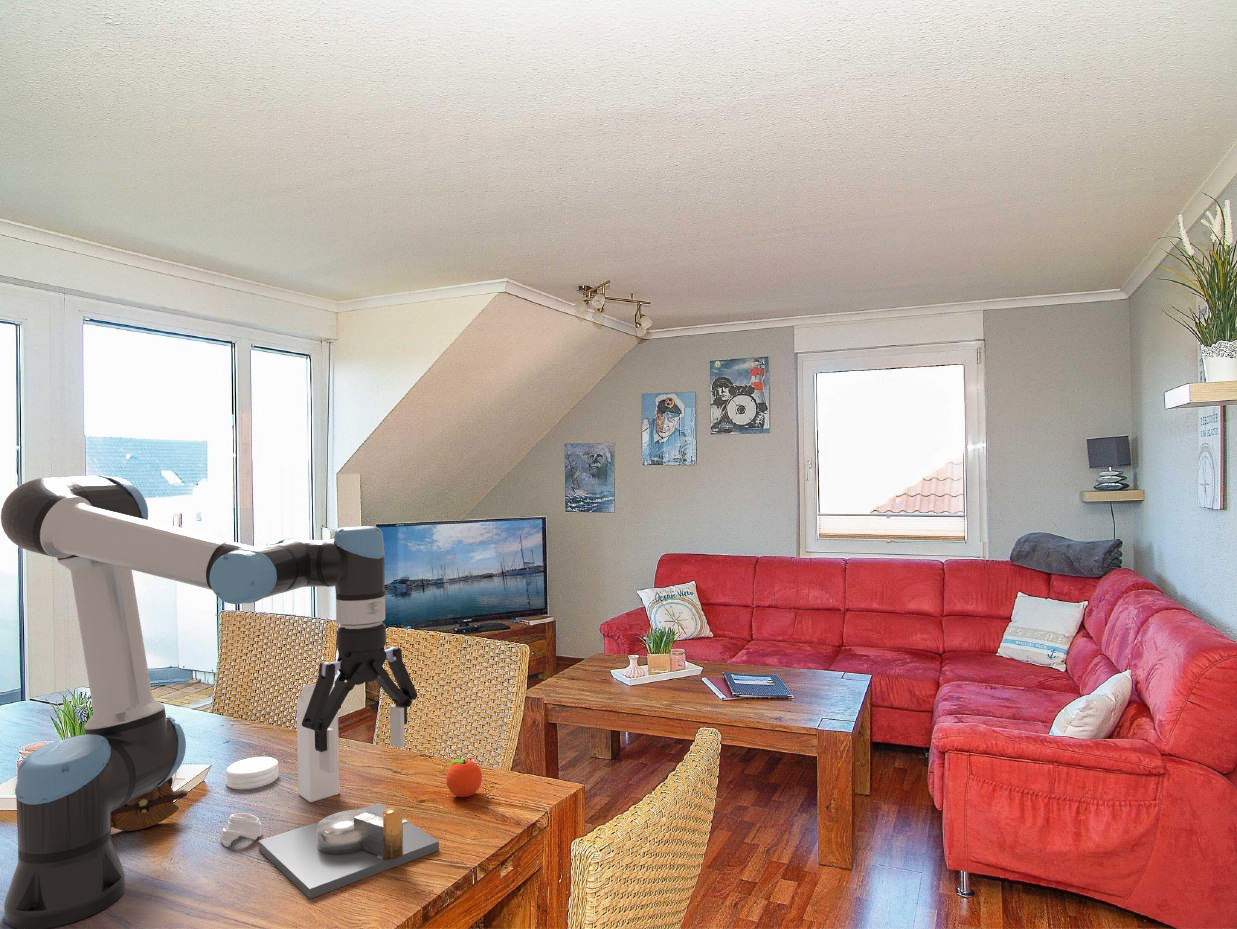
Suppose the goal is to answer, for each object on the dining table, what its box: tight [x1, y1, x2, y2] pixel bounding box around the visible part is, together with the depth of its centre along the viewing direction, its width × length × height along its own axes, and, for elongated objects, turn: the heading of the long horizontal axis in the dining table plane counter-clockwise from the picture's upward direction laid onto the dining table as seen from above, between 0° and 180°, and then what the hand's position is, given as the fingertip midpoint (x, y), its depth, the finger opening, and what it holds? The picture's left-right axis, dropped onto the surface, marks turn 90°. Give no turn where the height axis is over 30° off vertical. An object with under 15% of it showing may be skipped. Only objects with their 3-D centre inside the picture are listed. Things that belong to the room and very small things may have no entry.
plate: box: [258, 802, 440, 900], centre depth 139 cm, size 22×22×2 cm
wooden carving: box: [111, 776, 189, 832], centre depth 148 cm, size 16×5×10 cm, turn 123°
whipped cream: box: [220, 812, 263, 848], centre depth 144 cm, size 8×7×5 cm
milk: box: [296, 683, 340, 803], centre depth 162 cm, size 6×6×22 cm
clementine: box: [443, 759, 483, 798], centre depth 161 cm, size 8×7×7 cm
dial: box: [317, 806, 403, 860], centre depth 137 cm, size 18×10×7 cm, turn 58°
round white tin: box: [225, 756, 280, 790], centre depth 170 cm, size 10×10×4 cm
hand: (363, 758), depth 130 cm, fingers open, 12 cm apart
